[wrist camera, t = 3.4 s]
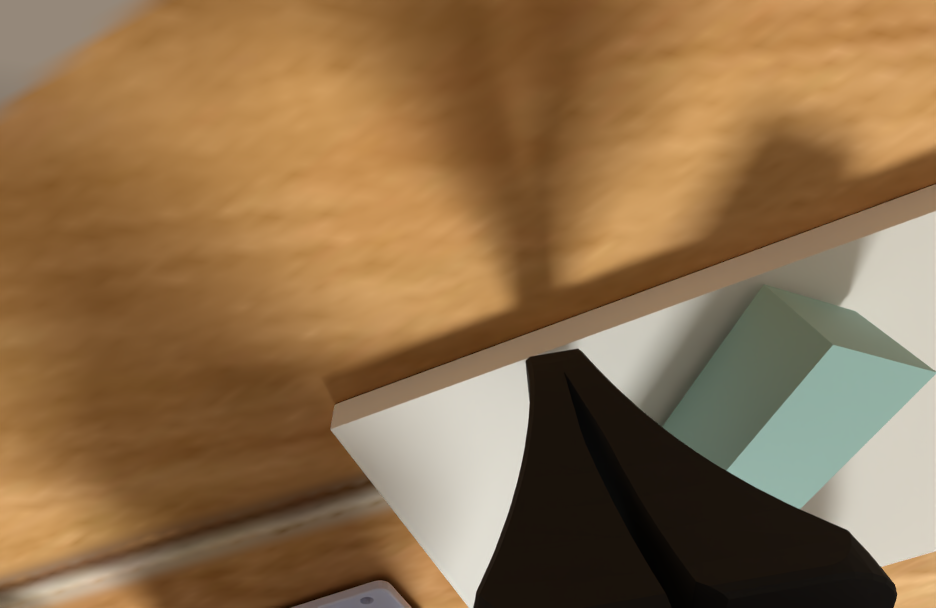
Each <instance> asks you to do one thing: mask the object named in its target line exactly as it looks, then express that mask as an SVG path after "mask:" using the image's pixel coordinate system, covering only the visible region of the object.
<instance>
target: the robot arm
mask: <svg viewBox="0 0 936 608" xmlns="http://www.w3.org/2000/svg"><path fill="white" fill-rule="evenodd" d="M525 363H526V373H527V383H528V392H529V402H530V404H529V419H528V427H527V434H526V441H525V448H524V453H523V459H522V463H521V468H520V472H519V477H518V481H517V484H516V488H515V492H514V495H513V499H512V502H511V506H510V509H509V512H508V515H507V518H506V521H505V524H504V526H503V529H502V532H501V534H500V537H499V540H498V543H497V545H496V548H495V551H494V553H493V556H492V558H491V560H490V562H489V565H488V567H487V569H486V571H485V574H484V576H483V578H482V580H481V583H480V585H479V587H478V589H477V592H476V596H475V602H474V606H473V608H893V607H894V604H895V602H896V598H897V592H896V587H895V584H894V583H893V582H892V581H891V579H890V578H889V577H888V576H887V574H886V573H885V572H884V571H883V569H882V568H881V567H880V566H879V564H878V563H877V562H876V561H875V559H874V558H873V557H872V556H871V555H870V553H869V552H868V551H867V550H866V549H865V548H864V547H863V546H862V545H861V544H860V543H859V542H858V541H857V540H856V539H855V537H854V536H853V535H852V534H851V533H850V532H849V531H848V530H846V529H844V528H842V527H839V526H837V525H835V524H832V523H830V522H828V521H826V520H823V519H821V518H819V517H817V516H814V515H812V514H810V513H807V512H805V511H803V510H801V509H798V508H796V507H794V506H792V505H790V504H787V503H785V502H783V501H782V500H780V499H778V498H776V497H774V496H772V495H770V494H768V493H766V492H764V491H762V490H760V489H758V488H756V487H754V486H752V485H750V484H749V483H747V482H745V481H743V480H742V479H740V478H738V477H737V476H735V475H733V474H731V473H730V472H728V471H726V470H724V469H723V468H721V467H719V466H718V465H716V464H714V463H713V462H711V461H710V460H708V459H707V458H705V457H703V456H702V455H700V454H699V453H697V452H696V451H694V450H693V449H692V448H690V447H689V446H687V445H686V444H684V443H683V442H682V441H680V440H679V439H677V438H676V437H675V436H673V435H672V434H671V433H669V432H668V431H667V430H665V429H664V428H663V427H662V426H660V425H659V424H658V423H657V422H655V421H654V420H653V419H652V418H650V417H649V416H648V415H647V414H646V413H644V412H643V411H642V410H641V409H640V408H639V407H637V406H636V405H635V404H634V403H633V402H632V401H631V400H630V399H629V398H628V397H626V396H625V395H624V394H623V393H622V392H621V391H620V390H619V389H618V388H617V387H616V386H615V385H614V384H613V383H612V382H611V381H610V380H609V379H608V378H607V377H606V376H605V375H604V374H603V373H602V372H601V371H600V370H599V369H598V368H597V367H596V366H595V365H594V364H593V363H592V362H591V361H590V360H589V359H588V357H587V356H586V355H585V354H584V353H583V352H582V351H581V350H579V349H578V348H577V349H572V350H566V351H560V352H554V353H548V354H542V355H536V356H531V357H529V358H528V359H527V360H526V361H525ZM291 608H412V607H411V606H410V605H409V604H408V603H407V602H406V601H405V600H404V599H403V597H402V596H401V595H400V594H399V593H398V592H397V591H396V590H395V589H394V587H393V586H392V585H391V584H390V583H388V582H387V581H383V580H377V581H373V582H369V583H366V584H363V585H360V586H357V587H354V588H351V589H347V590H344V591H341V592H338V593H335V594H332V595H329V596H325V597H322V598H319V599H316V600H313V601H310V602H307V603H303V604H300V605H297V606H294V607H291Z"/></svg>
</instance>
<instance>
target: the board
mask: <svg viewBox="0 0 936 608" xmlns="http://www.w3.org/2000/svg"><path fill="white" fill-rule="evenodd" d="M764 284H765V285H768V286H771V287H775V288H778V289H782V290H785V291H789V292H792V293H795V294H799V295H802V296H806V297H809V298H812V299H816V300H819V301H823V302H826V303H830V304H833V305H836V306H840V307H843V308H847V309H850V310H853V311H856V312H857V313H859V314H860V315H861V316H863V317H864V318H865V319H867V320H868V321H869V322H871V323H872V324H873V325H875V326H876V327H877V328H879V329H880V330H881V331H883V332H884V333H885V334H887V335H888V336H889V337H891V338H892V339H893V340H895V341H896V342H897V343H899V344H900V345H901V346H903V347H904V348H905V349H907V350H908V351H909V352H911V353H912V354H913V355H915V356H916V357H917V358H919V359H920V360H921V361H923V362H924V363H925V364H927V365H928V366H929V367H931V368H932V369H933V370H935V371H936V184H935V185H932V186H929V187H927V188H924V189H921V190H919V191H916V192H913V193H910V194H908V195H905V196H902V197H899V198H897V199H894V200H891V201H889V202H886V203H883V204H880V205H878V206H875V207H872V208H869V209H867V210H864V211H861V212H859V213H856V214H853V215H850V216H848V217H845V218H842V219H839V220H837V221H834V222H831V223H829V224H826V225H823V226H820V227H818V228H815V229H812V230H809V231H807V232H804V233H801V234H799V235H796V236H793V237H790V238H788V239H785V240H782V241H779V242H777V243H774V244H771V245H769V246H766V247H763V248H760V249H758V250H755V251H752V252H749V253H747V254H744V255H741V256H739V257H736V258H733V259H730V260H728V261H725V262H722V263H719V264H717V265H714V266H711V267H709V268H706V269H703V270H700V271H698V272H695V273H692V274H689V275H687V276H684V277H681V278H678V279H676V280H673V281H670V282H668V283H665V284H662V285H659V286H657V287H654V288H651V289H648V290H646V291H643V292H640V293H638V294H635V295H632V296H629V297H627V298H624V299H621V300H618V301H616V302H613V303H610V304H608V305H605V306H602V307H599V308H597V309H594V310H591V311H588V312H586V313H583V314H580V315H578V316H575V317H572V318H569V319H567V320H564V321H561V322H558V323H556V324H553V325H550V326H548V327H545V328H542V329H539V330H537V331H534V332H531V333H528V334H526V335H523V336H520V337H518V338H515V339H512V340H509V341H507V342H504V343H501V344H498V345H496V346H493V347H490V348H488V349H485V350H482V351H479V352H477V353H474V354H471V355H468V356H466V357H463V358H460V359H458V360H455V361H452V362H449V363H447V364H444V365H441V366H438V367H436V368H433V369H430V370H428V371H425V372H422V373H419V374H417V375H414V376H411V377H408V378H406V379H403V380H400V381H398V382H395V383H392V384H389V385H387V386H384V387H381V388H378V389H376V390H373V391H370V392H368V393H365V394H362V395H359V396H357V397H354V398H351V399H348V400H346V401H343V402H340V403H338V404H335V405H334V411H333V416H332V422H331V428H330V430H331V431H332V432H333V434H334V435H335V436H336V437H337V439H338V440H339V441H340V443H341V444H342V445H343V446H344V448H345V449H346V450H347V452H348V453H349V454H350V455H351V457H352V458H353V459H354V461H355V462H356V463H357V464H358V466H359V467H360V468H361V470H362V471H363V472H364V473H365V475H366V476H367V477H368V479H369V480H370V481H371V482H372V484H373V485H374V486H375V488H376V489H377V490H378V491H379V493H380V494H381V495H382V497H383V498H384V499H385V500H386V502H387V503H388V504H389V506H390V507H391V508H392V509H393V511H394V512H395V513H396V515H397V516H398V517H399V518H400V520H401V521H402V522H403V524H404V525H405V526H406V527H407V529H408V530H409V531H410V533H411V534H412V535H413V536H414V538H415V539H416V540H417V542H418V543H419V544H420V545H421V547H422V548H423V549H424V551H425V552H426V553H427V554H428V556H429V557H430V558H431V560H432V561H433V562H434V563H435V565H436V566H437V567H438V569H439V570H440V571H441V572H442V574H443V575H444V576H445V578H446V579H447V580H448V581H449V583H450V584H451V585H452V587H453V588H454V589H455V590H456V592H457V593H458V594H459V596H460V597H461V598H462V599H463V601H464V602H465V603H466V605H467V606H468V607H469V608H473V606H474V602H475V596H476V592H477V589H478V587H479V585H480V583H481V580H482V578H483V576H484V574H485V571H486V569H487V567H488V565H489V562H490V560H491V558H492V556H493V553H494V551H495V548H496V545H497V543H498V540H499V537H500V534H501V532H502V529H503V526H504V524H505V521H506V518H507V515H508V512H509V509H510V506H511V502H512V499H513V495H514V492H515V488H516V484H517V481H518V477H519V472H520V468H521V463H522V459H523V453H524V448H525V441H526V434H527V427H528V419H529V404H530V402H529V392H528V383H527V373H526V363H525V361H526V360H527V359H528V358H529V357H531V356H536V355H542V354H548V353H554V352H560V351H566V350H572V349H577V348H578V349H579V350H581V351H582V352H583V353H584V354H585V355H586V356H587V357H588V359H589V360H590V361H591V362H592V363H593V364H594V365H595V366H596V367H597V368H598V369H599V370H600V371H601V372H602V373H603V374H604V375H605V376H606V377H607V378H608V379H609V380H610V381H611V382H612V383H613V384H614V385H615V386H616V387H617V388H618V389H619V390H620V391H621V392H622V393H623V394H624V395H625V396H626V397H628V398H629V399H630V400H631V401H632V402H633V403H634V404H635V405H636V406H637V407H639V408H640V409H641V410H642V411H643V412H644V413H646V414H647V415H648V416H649V417H650V418H652V419H653V420H654V421H655V422H657V423H658V424H659V425H660V426H663V425H664V423H665V422H666V421H667V419H668V418H669V416H670V415H671V414H672V412H673V411H674V409H675V408H676V407H677V405H678V404H679V402H680V401H681V400H682V398H683V397H684V395H685V394H686V393H687V391H688V390H689V388H690V387H691V386H692V384H693V383H694V381H695V380H696V379H697V377H698V376H699V374H700V373H701V372H702V370H703V369H704V367H705V366H706V365H707V363H708V362H709V360H710V359H711V358H712V356H713V355H714V353H715V352H716V351H717V349H718V348H719V346H720V345H721V344H722V342H723V341H724V339H725V338H726V337H727V335H728V334H729V332H730V331H731V330H732V328H733V327H734V325H735V324H736V323H737V321H738V320H739V318H740V317H741V316H742V314H743V313H744V311H745V310H746V308H747V307H748V306H749V304H750V303H751V301H752V300H753V299H754V297H755V296H756V294H757V293H758V292H759V290H760V289H761V287H762V286H763V285H764ZM801 510H803V511H805V512H807V513H810V514H812V515H814V516H817V517H819V518H821V519H823V520H826V521H828V522H830V523H832V524H835V525H837V526H839V527H842V528H844V529H846V530H848V531H849V532H850V533H851V534H852V535H853V536H854V537H855V539H856V540H857V541H858V542H859V543H860V544H861V545H862V546H863V547H864V548H865V549H866V550H867V551H868V552H869V553H870V555H871V556H872V557H873V558H874V559H875V561H876V562H877V563H878V564H879V566H880V567H882V566H886V565H889V564H893V563H896V562H900V561H903V560H907V559H910V558H914V557H917V556H921V555H924V554H928V553H931V552H935V551H936V374H935V375H934V376H933V377H932V378H931V379H930V380H929V381H928V382H927V383H926V384H925V385H924V386H923V387H922V388H921V389H920V390H919V391H918V392H917V393H916V394H915V395H914V396H913V397H912V398H911V399H910V400H909V401H908V402H907V403H906V404H905V405H904V406H903V407H902V408H901V409H900V410H899V411H898V412H897V413H896V414H895V415H894V416H893V417H892V418H891V419H890V420H889V421H888V422H887V423H886V424H885V425H884V426H883V427H882V428H881V429H880V430H879V431H878V432H877V433H876V434H875V435H874V436H873V437H872V438H871V439H870V440H869V441H868V442H867V443H866V444H865V445H864V446H863V447H862V448H861V449H860V450H859V451H858V452H857V453H856V454H855V455H854V456H853V457H852V458H851V459H850V460H849V461H848V462H847V463H846V464H845V465H844V466H843V467H842V468H841V469H840V470H839V471H838V472H837V473H836V474H835V475H834V476H833V477H832V478H831V479H830V480H829V481H828V482H827V483H826V484H825V485H824V486H823V487H822V488H821V489H820V490H819V491H818V492H817V493H816V494H815V495H814V496H813V497H812V498H811V499H810V500H809V501H808V502H807V503H806V504H805V505H804V506H803V507H802V508H801Z"/></svg>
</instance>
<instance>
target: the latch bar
mask: <svg viewBox="0 0 936 608" xmlns="http://www.w3.org/2000/svg"><path fill="white" fill-rule="evenodd" d="M935 374H936V371H935V370H933V369H932V368H931V367H929V366H928V365H927V364H925V363H924V362H923V361H921V360H920V359H919V358H917V357H916V356H915V355H913V354H912V353H911V352H909V351H908V350H907V349H905V348H904V347H903V346H901V345H900V344H899V343H897V342H896V341H895V340H893V339H892V338H891V337H889V336H888V335H887V334H885V333H884V332H883V331H881V330H880V329H879V328H877V327H876V326H875V325H873V324H872V323H871V322H869V321H868V320H867V319H865V318H864V317H863V316H861V315H860V314H859V313H857V312H856V311H853V310H850V309H847V308H843V307H840V306H836V305H833V304H830V303H826V302H823V301H819V300H816V299H812V298H809V297H806V296H802V295H799V294H795V293H792V292H789V291H785V290H782V289H778V288H775V287H771V286H768V285H765V284H764V285H763V286H762V287H761V289H760V290H759V292H758V293H757V294H756V296H755V297H754V299H753V300H752V301H751V303H750V304H749V306H748V307H747V308H746V310H745V311H744V313H743V314H742V316H741V317H740V318H739V320H738V321H737V323H736V324H735V325H734V327H733V328H732V330H731V331H730V332H729V334H728V335H727V337H726V338H725V339H724V341H723V342H722V344H721V345H720V346H719V348H718V349H717V351H716V352H715V353H714V355H713V356H712V358H711V359H710V360H709V362H708V363H707V365H706V366H705V367H704V369H703V370H702V372H701V373H700V374H699V376H698V377H697V379H696V380H695V381H694V383H693V384H692V386H691V387H690V388H689V390H688V391H687V393H686V394H685V395H684V397H683V398H682V400H681V401H680V402H679V404H678V405H677V407H676V408H675V409H674V411H673V412H672V414H671V415H670V416H669V418H668V419H667V421H666V422H665V423H664V425H663V426H662V427H663V428H664V429H665V430H667V431H668V432H669V433H671V434H672V435H673V436H675V437H676V438H677V439H679V440H680V441H682V442H683V443H684V444H686V445H687V446H689V447H690V448H692V449H693V450H694V451H696V452H697V453H699V454H700V455H702V456H703V457H705V458H707V459H708V460H710V461H711V462H713V463H714V464H716V465H718V466H719V467H721V468H723V469H724V470H726V471H728V472H730V473H731V474H733V475H735V476H737V477H738V478H740V479H742V480H743V481H745V482H747V483H749V484H750V485H752V486H754V487H756V488H758V489H760V490H762V491H764V492H766V493H768V494H770V495H772V496H774V497H776V498H778V499H780V500H782V501H783V502H785V503H787V504H790V505H792V506H794V507H796V508H798V509H801V508H802V507H803V506H804V505H805V504H806V503H807V502H808V501H809V500H810V499H811V498H812V497H813V496H814V495H815V494H816V493H817V492H818V491H819V490H820V489H821V488H822V487H823V486H824V485H825V484H826V483H827V482H828V481H829V480H830V479H831V478H832V477H833V476H834V475H835V474H836V473H837V472H838V471H839V470H840V469H841V468H842V467H843V466H844V465H845V464H846V463H847V462H848V461H849V460H850V459H851V458H852V457H853V456H854V455H855V454H856V453H857V452H858V451H859V450H860V449H861V448H862V447H863V446H864V445H865V444H866V443H867V442H868V441H869V440H870V439H871V438H872V437H873V436H874V435H875V434H876V433H877V432H878V431H879V430H880V429H881V428H882V427H883V426H884V425H885V424H886V423H887V422H888V421H889V420H890V419H891V418H892V417H893V416H894V415H895V414H896V413H897V412H898V411H899V410H900V409H901V408H902V407H903V406H904V405H905V404H906V403H907V402H908V401H909V400H910V399H911V398H912V397H913V396H914V395H915V394H916V393H917V392H918V391H919V390H920V389H921V388H922V387H923V386H924V385H925V384H926V383H927V382H928V381H929V380H930V379H931V378H932V377H933V376H934V375H935Z"/></svg>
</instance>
